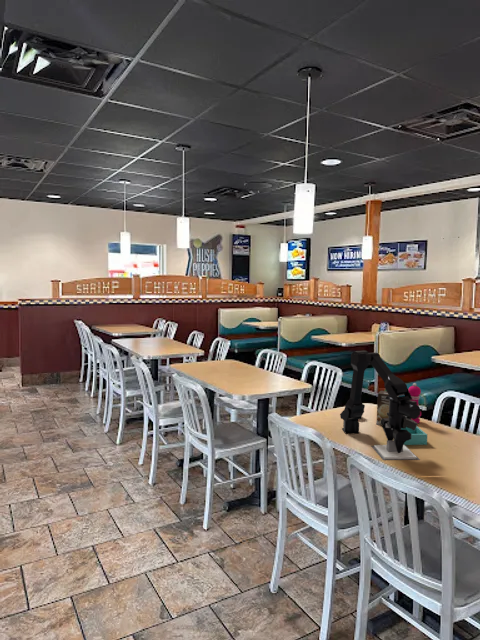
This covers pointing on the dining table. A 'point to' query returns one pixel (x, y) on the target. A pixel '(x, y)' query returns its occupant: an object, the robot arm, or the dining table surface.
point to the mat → (392, 459)
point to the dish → (416, 437)
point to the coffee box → (382, 406)
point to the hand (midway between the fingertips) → (394, 448)
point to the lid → (394, 451)
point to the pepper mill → (415, 397)
